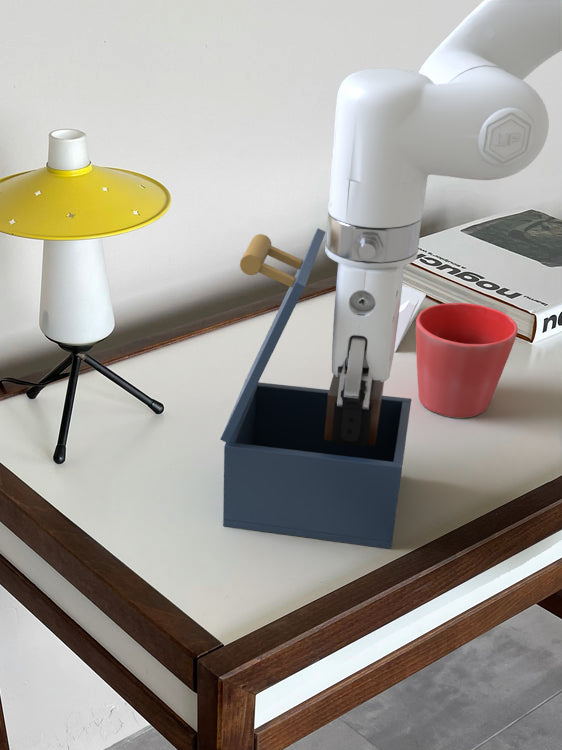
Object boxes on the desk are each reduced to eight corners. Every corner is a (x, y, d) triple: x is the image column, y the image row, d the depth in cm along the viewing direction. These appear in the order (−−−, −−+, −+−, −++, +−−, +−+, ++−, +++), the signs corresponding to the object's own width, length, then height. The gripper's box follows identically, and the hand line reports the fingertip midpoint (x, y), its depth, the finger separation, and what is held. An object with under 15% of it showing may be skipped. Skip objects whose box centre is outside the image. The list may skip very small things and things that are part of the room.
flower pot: (523, 404, 113) (539, 324, 108) (460, 436, 108) (475, 353, 102) (448, 370, 120) (460, 293, 115) (385, 399, 115) (395, 319, 109)
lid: (326, 231, 90) (268, 204, 90) (304, 286, 80) (240, 256, 80) (254, 378, 100) (203, 354, 100) (228, 443, 90) (170, 417, 90)
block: (379, 421, 94) (384, 377, 92) (374, 446, 91) (380, 401, 88) (330, 415, 95) (334, 371, 93) (323, 440, 92) (327, 395, 89)
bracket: (392, 358, 125) (415, 305, 120) (340, 335, 126) (360, 282, 121) (416, 317, 135) (438, 267, 130) (367, 296, 136) (387, 246, 131)
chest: (401, 475, 102) (411, 398, 97) (391, 549, 92) (402, 467, 87) (248, 456, 105) (251, 381, 100) (222, 526, 95) (224, 446, 90)
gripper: (412, 278, 75) (386, 483, 85) (425, 205, 88) (400, 390, 99) (312, 270, 76) (298, 472, 87) (339, 199, 90) (324, 382, 100)
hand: (353, 427), depth 93 cm, fingers closed on block, 4 cm apart
